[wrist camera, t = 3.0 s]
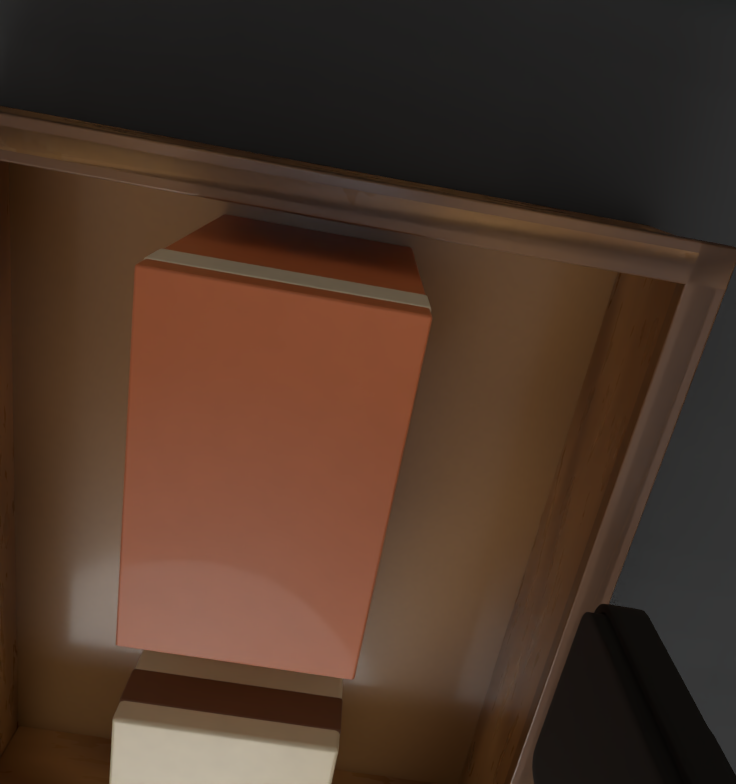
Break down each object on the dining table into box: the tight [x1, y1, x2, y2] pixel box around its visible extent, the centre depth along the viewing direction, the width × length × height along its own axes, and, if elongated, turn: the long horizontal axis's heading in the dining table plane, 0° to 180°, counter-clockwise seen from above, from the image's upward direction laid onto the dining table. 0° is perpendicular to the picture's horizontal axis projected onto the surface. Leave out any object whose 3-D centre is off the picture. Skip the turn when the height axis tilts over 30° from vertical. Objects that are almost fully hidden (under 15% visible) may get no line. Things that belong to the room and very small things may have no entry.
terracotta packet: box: [116, 214, 432, 680], centre depth 16 cm, size 5×8×7 cm, turn 170°
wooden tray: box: [0, 106, 736, 784], centre depth 19 cm, size 18×22×4 cm
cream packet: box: [109, 650, 343, 784], centre depth 19 cm, size 5×8×7 cm, turn 170°
